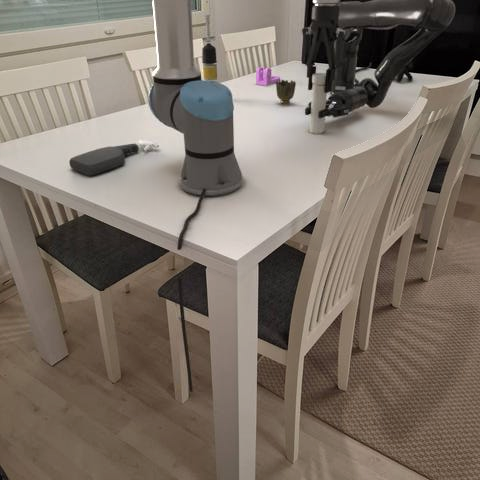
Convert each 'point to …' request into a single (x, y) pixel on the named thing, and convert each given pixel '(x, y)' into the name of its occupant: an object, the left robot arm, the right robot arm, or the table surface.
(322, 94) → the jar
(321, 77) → the lid
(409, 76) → the squiggle
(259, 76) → the bracket
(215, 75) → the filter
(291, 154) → the table surface
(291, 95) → the cup
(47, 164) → the table surface
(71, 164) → the spray bottle
